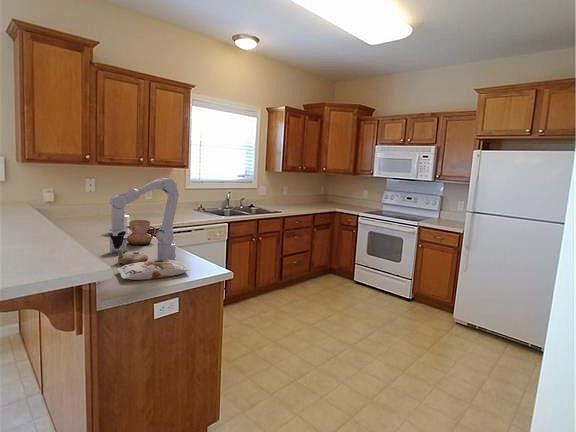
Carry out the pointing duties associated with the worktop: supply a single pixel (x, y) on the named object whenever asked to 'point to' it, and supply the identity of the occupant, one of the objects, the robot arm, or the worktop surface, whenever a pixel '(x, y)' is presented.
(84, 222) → the worktop surface
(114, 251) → the medicine box
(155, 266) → the dog food
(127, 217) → the toilet paper
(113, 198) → the robot arm
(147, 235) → the ceramic jug
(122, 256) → the turntable
